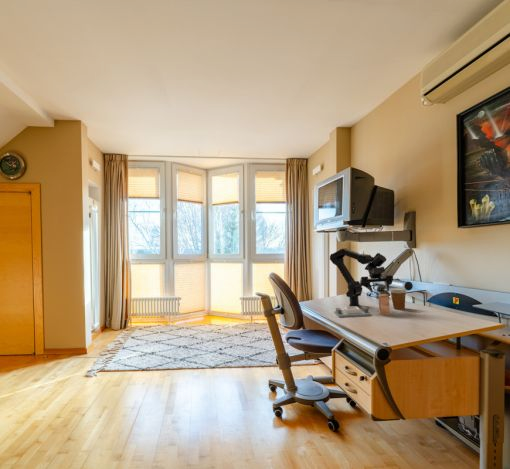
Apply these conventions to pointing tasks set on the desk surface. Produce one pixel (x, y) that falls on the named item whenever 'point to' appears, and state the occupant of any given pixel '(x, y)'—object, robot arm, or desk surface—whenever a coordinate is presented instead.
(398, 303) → the disposable coffee cup
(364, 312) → the socket plate
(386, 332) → the desk surface
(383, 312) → the peg
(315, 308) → the desk surface
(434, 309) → the desk surface
